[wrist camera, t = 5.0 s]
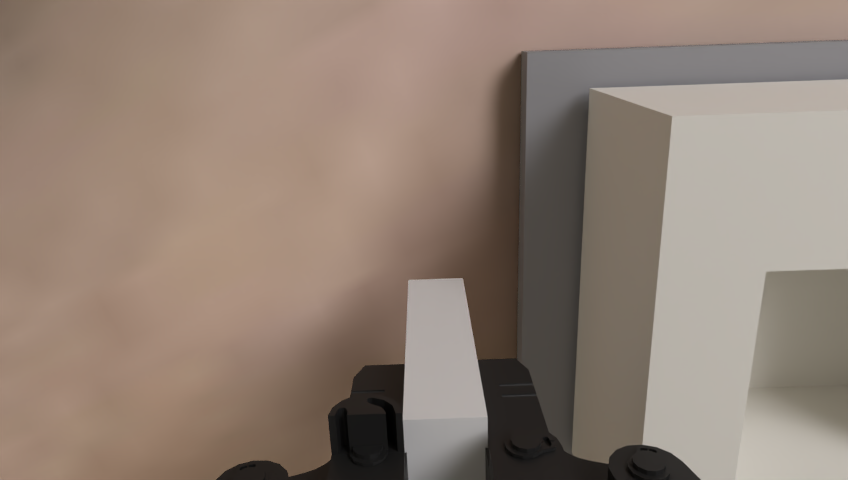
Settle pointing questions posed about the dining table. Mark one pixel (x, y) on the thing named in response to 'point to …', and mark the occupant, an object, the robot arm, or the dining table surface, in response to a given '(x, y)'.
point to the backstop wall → (566, 165)
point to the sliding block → (716, 278)
